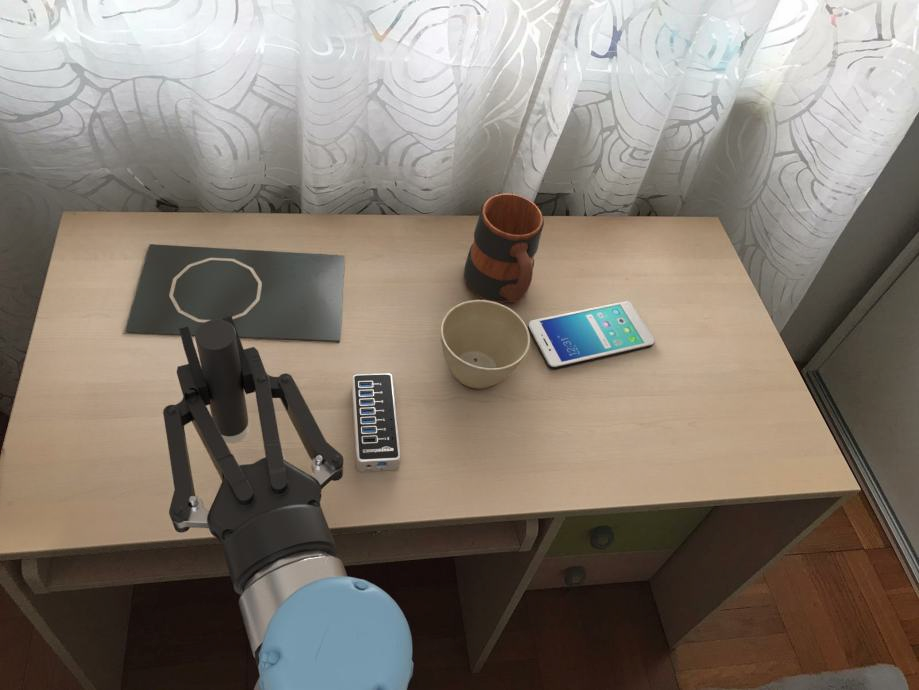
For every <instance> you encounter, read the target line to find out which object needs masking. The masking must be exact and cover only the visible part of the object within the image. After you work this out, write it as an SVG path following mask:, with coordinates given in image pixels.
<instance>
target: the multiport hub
mask: <svg viewBox="0 0 919 690" xmlns="http://www.w3.org/2000/svg"><path fill="white" fill-rule="evenodd" d="M351 377H352V380H351V395H352V396H351V397H352V416H353V431H354V446H355V447H354V448H355V463H356V470H357V471H358V472H359V473H370V472H371V473H373V472H387V471H388V472H389V471H397V470H399V468H400V460H401V450H400V449H401V448H400V440H399V439H400V438H399V429H398V428H399V427H398V419H397V408H396V399H395V389H394V379H393V375H392V374H391V373H388V372H387V373H386V372H385V373H382V372H381V373H356V374H355V373H354V374H353V375H352V376H351Z"/></svg>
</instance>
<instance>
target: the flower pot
mask: <svg viewBox="0 0 919 690" xmlns="http://www.w3.org/2000/svg"><path fill="white" fill-rule="evenodd" d="M530 335H531V333H530V332H529V330H528V325H526V322H525V321H524V320H523V319H522V318H521V316H520V315H519V314H518V313H517V312H515V311H514V310H513V309H511V308H510V307H508V306H506V305H505V304H504V305H503V303H496V302H492V301H487V300H484V299H474V300H473V299H472V300H466V301H463V302H460V303H459V304H456V305H454V306H452V308H450V310H448V311H447V313H446V314H445V315H444V317H443V319H442V320H441V325H440V342H441V349H442V353H443V357H444V359H445V362H446V364H447V366H448V368H449V370H450V371H451V373H452V374H453V376H454V377H455V378H456V379H457V380H458V381H459V382H460V383H461V384H463V385H464V386H466V387H468V388H471V389H477V390H478V389H485V388H489V387H492V386H494V385H497V384H498V383H500V382H502V381H503V380H505V379H506V378H507V377H509V376H510V375H511V374H512V373H513V372H514V371H515V370H516V369H517V368H518V367H519V366H520V365H521V364H522V362H523V360H524V359H525V358H526V355H527V353H528V351H529V350H530V345H531V336H530Z"/></svg>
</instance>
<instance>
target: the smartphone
mask: <svg viewBox="0 0 919 690" xmlns="http://www.w3.org/2000/svg"><path fill="white" fill-rule="evenodd" d="M527 328H528V331H529V334H530V335H531V337H532V339H533V342H534V344H535V345H536V347H537V348H538V351H539V352H540V354H541V357H542V358H543V360H544V362H545V365H546V366H547V367H548V368H549V369H550V370H560V369H563V368H569V367H572V366H576V365H580V364H584V363H588V362H593V361H598V360H602V359H608V358H610V357H615V356H619V355H623V354H628V353H633V352H636V351H637V352H638V351H640V350H641V351H642V350H645V349H650V348H652V347H653V346H654V344H655V342H656V341H655V340H656V339H655V338H654V336H653V335H652V333H651V331H650V329H648V326H647V325H646V324H645V322H644V321H643V319H642V318H641V316H640V314H639V313H638V311H637V310H636V308H635V306H634V304H632V303H631V302H630V301H628V300H623V301H619V302H614V303H610V304H604V305H600V306H595V307H590V308H585V309H580V310H576V311H571V312H565V313H560V314H556V315H551V316H546V317H540V318H537V319H532V320H529V322H528V324H527Z"/></svg>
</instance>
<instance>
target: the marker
mask: <svg viewBox="0 0 919 690" xmlns="http://www.w3.org/2000/svg"><path fill="white" fill-rule="evenodd" d="M194 339H195V344H196V348H197V349H196V350H197V355H198V359H199V362H200V365H201V368H202V372H203V377H204V379H205V381H206V384H207V388H208V392H209V397H210V402H211V404H210V405H209V409H210V415H211V416H212V418H213V420H214V422H215V424H216V426H217V428H218V429H219V431H220V433H221V435H222V437H223V439H224V441H225V443H226V444H236V443H239V442H242V441H243V440H245V438H247V436H248V435H249V432H250V421H249V416H248V408H247V402H246V401H247V400H246V393H245V390H244V387H243V380H242V373H241V366H240V359H239V352H238V345H237V338H236V331H235V329H234V327H233V326H232V325H231V324H230V323H229V322H227V321H224V320H210V321H207V322H205V323H203V324H201V325H200V326H199V327H198V329H197V330H196V333H195V336H194Z"/></svg>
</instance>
